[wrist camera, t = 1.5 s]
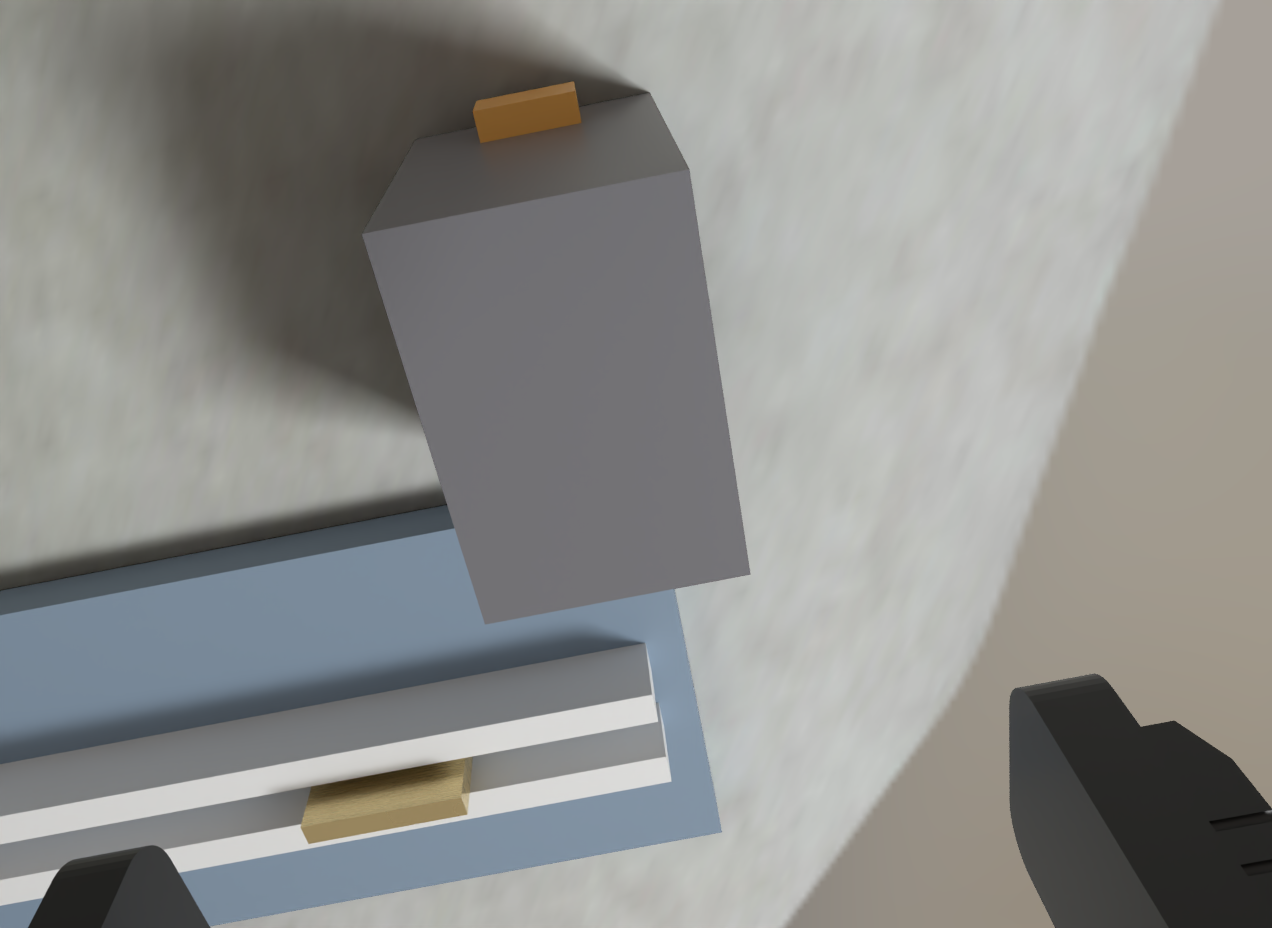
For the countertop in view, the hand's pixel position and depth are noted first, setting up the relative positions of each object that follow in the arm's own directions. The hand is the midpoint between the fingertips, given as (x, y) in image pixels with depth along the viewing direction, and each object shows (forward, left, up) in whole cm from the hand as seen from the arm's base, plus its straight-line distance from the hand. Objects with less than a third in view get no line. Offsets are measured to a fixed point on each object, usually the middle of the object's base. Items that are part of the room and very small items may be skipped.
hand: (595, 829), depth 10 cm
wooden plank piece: (+11, -7, -13) cm, 19 cm away
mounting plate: (+11, -10, -16) cm, 21 cm away
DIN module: (0, 0, -16) cm, 16 cm away
